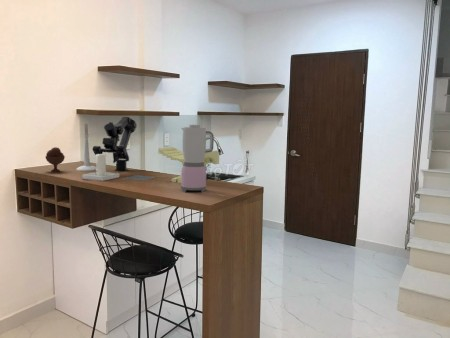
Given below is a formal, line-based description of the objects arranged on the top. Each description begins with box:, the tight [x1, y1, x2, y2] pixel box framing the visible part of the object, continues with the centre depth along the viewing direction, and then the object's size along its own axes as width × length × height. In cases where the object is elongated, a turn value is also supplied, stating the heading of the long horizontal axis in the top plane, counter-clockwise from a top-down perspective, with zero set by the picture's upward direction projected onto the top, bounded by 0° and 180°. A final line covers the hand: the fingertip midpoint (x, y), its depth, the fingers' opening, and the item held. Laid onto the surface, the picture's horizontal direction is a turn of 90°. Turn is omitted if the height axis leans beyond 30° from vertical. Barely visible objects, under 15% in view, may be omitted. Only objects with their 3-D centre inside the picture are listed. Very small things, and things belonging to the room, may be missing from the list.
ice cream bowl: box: [45, 147, 66, 173], centre depth 226 cm, size 11×11×15 cm
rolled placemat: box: [95, 153, 107, 177], centre depth 205 cm, size 5×5×13 cm
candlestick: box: [76, 123, 96, 172], centre depth 236 cm, size 13×13×30 cm
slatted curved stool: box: [157, 146, 220, 184], centre depth 206 cm, size 30×16×18 cm, turn 61°
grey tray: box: [81, 171, 120, 182], centre depth 206 cm, size 14×14×2 cm
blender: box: [180, 124, 215, 193], centre depth 179 cm, size 16×12×32 cm
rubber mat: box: [122, 174, 157, 181], centre depth 210 cm, size 14×14×1 cm
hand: (105, 162), depth 212 cm, fingers open, 9 cm apart
